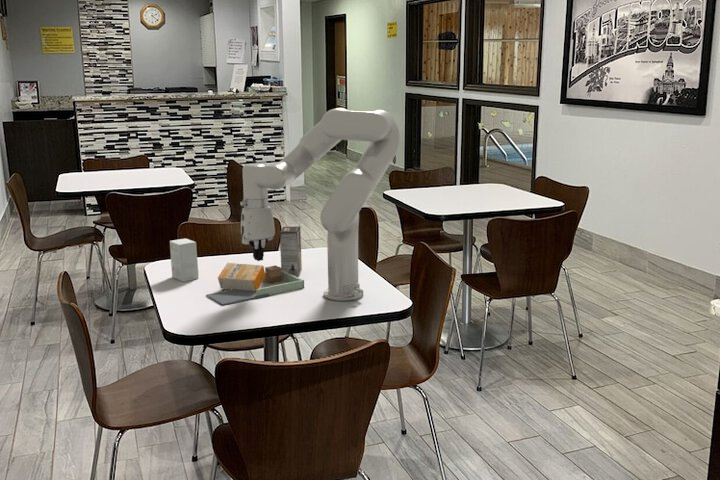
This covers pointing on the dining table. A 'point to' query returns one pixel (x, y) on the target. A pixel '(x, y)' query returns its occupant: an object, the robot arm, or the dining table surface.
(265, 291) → the tray
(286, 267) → the coffee box
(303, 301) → the dining table surface
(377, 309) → the dining table surface
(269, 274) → the walnut block
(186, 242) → the small box
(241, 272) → the supplement box
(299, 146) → the robot arm
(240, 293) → the mat
